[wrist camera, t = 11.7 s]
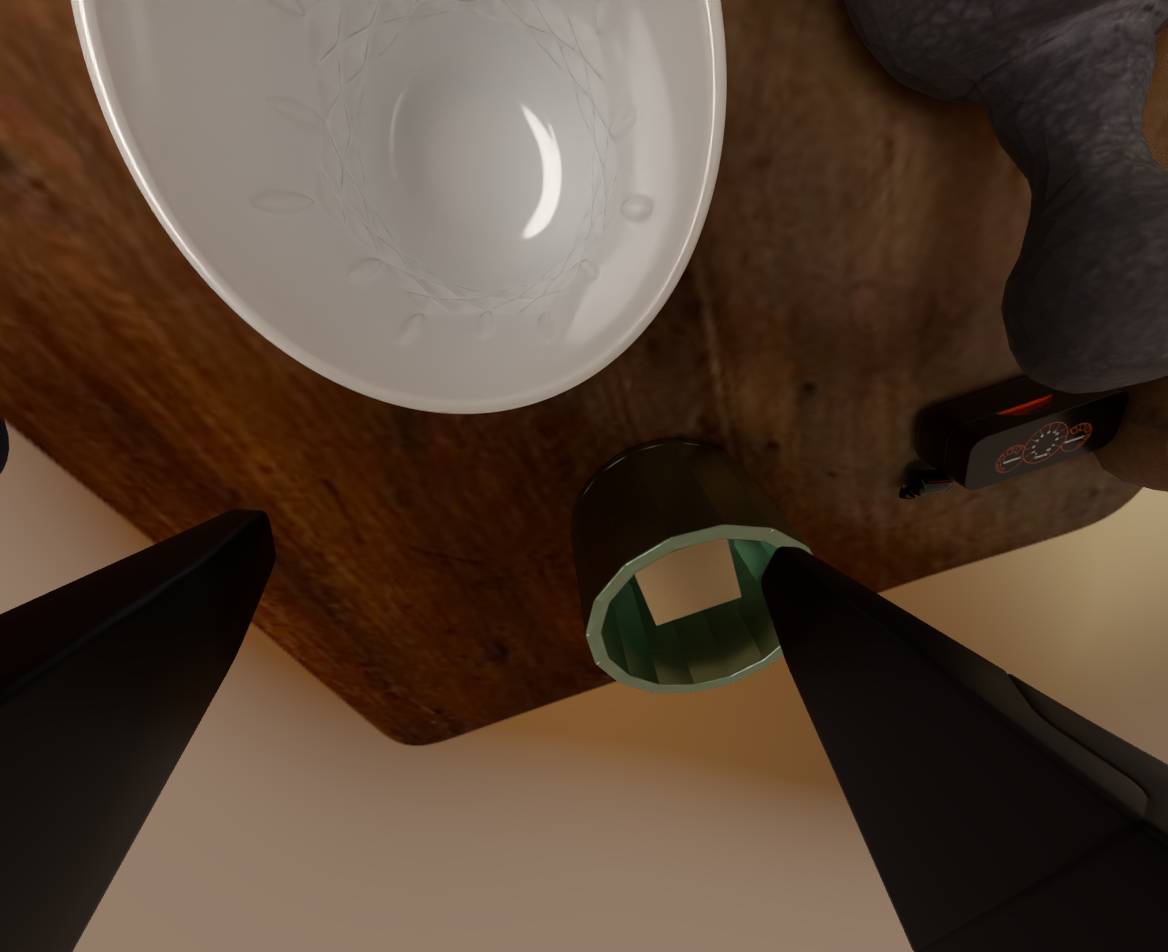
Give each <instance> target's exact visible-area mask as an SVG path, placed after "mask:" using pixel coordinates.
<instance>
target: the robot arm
mask: <svg viewBox="0 0 1168 952" xmlns="http://www.w3.org/2000/svg"><path fill="white" fill-rule="evenodd" d="M275 557H276V552H275V546H274V541H273V536H272V531H271V525H270V520H269V517H268V515H267V514H266V513H265V512H263V511H261V510H247V509H233V510H230V511H228V512H226V513H224V514H221V515H219V516H217V517H215V518H212V519H210V520H208V521H206V522H204V523H201V524H199V525H197V526H195V527H193V528H190V529H188V530H186V531H184V532H182V533H179V534H177V535H175V536H173V537H170V538H168V539H166V540H164V541H162V542H159V543H157V544H155V545H153V546H151V547H149V548H146V549H144V550H142V551H140V552H137V553H135V554H133V555H131V556H129V557H126V558H124V559H122V560H120V561H117V562H115V563H113V564H111V565H109V566H106V567H104V568H102V569H100V570H97V571H95V572H93V573H91V574H89V575H86V576H84V577H82V578H80V579H78V580H76V581H73V582H71V583H69V584H67V585H65V586H62V587H60V588H58V589H56V590H53V591H51V592H49V593H47V594H44V595H42V596H40V597H38V598H36V599H33V600H31V601H29V602H27V603H25V604H22V605H21V606H18V607H16V608H13V609H11V610H9V611H7V612H5V613H2V614H0V952H73V950H74V948H75V946H76V944H77V943H78V941H79V939H80V937H81V935H82V934H83V932H84V930H85V928H86V926H87V925H88V923H89V921H90V919H91V917H92V916H93V914H94V912H95V910H96V908H97V906H98V905H99V903H100V901H101V899H102V898H103V896H104V894H105V892H106V890H107V889H108V886H109V885H110V883H111V881H112V880H113V878H114V876H115V874H116V872H117V871H118V869H119V867H120V865H121V863H122V861H123V860H124V858H125V856H126V854H127V852H128V850H129V849H130V847H131V845H132V843H133V842H134V840H135V838H136V836H137V834H138V833H139V831H140V829H141V827H142V825H143V823H144V822H145V820H146V818H147V816H148V814H149V813H150V811H151V809H152V807H153V806H154V804H155V802H156V800H157V798H158V797H159V795H160V793H161V791H162V789H163V788H164V786H165V784H166V782H167V780H168V779H169V777H170V775H171V773H172V771H173V770H174V768H175V766H176V764H177V762H178V761H179V759H180V757H181V755H182V753H183V751H184V750H185V748H186V746H187V744H188V743H189V741H190V739H191V737H192V735H193V734H194V732H195V730H196V728H197V726H198V724H199V723H200V721H201V719H202V717H203V716H204V714H205V712H206V710H207V708H208V706H209V705H210V703H211V701H212V699H213V697H214V696H215V694H216V692H217V690H218V689H219V687H220V685H221V683H222V681H223V679H224V678H225V676H226V674H227V672H228V670H229V669H230V667H231V665H232V663H233V661H234V659H235V657H236V655H237V653H238V651H239V648H240V646H241V644H242V642H243V639H244V637H245V634H246V632H247V630H248V627H249V625H250V622H251V620H252V618H253V615H254V613H255V610H256V608H257V605H258V603H259V601H260V598H261V596H262V593H263V591H264V588H265V586H266V584H267V581H268V579H269V576H270V574H271V572H272V569H273V566H274V563H275ZM761 589H762V592H763V595H764V598H765V601H766V604H767V607H768V610H769V613H770V616H771V619H772V622H773V625H774V628H775V631H776V634H777V637H778V641H779V644H780V647H781V649H782V652H783V655H784V657H785V660H786V663H787V665H788V668H789V670H790V673H791V675H792V677H793V679H794V682H795V683H796V686H797V688H798V690H799V693H800V695H801V697H802V700H803V702H804V704H805V707H806V709H807V711H808V713H809V716H810V718H811V720H812V722H813V725H814V727H815V729H816V732H817V734H818V736H819V738H820V741H821V743H822V745H823V747H824V750H825V752H826V754H827V756H828V759H829V761H830V763H831V765H832V768H833V770H834V772H835V775H836V777H837V779H838V782H839V783H840V786H841V788H842V791H843V793H844V795H845V797H846V800H847V802H848V804H849V807H850V809H851V811H852V813H853V816H854V818H855V820H856V822H857V824H858V827H859V829H860V832H861V834H862V836H863V838H864V841H865V843H866V845H867V847H868V849H869V852H870V854H871V857H872V859H873V861H874V863H875V866H876V868H877V870H878V872H879V875H880V877H881V879H882V881H883V884H884V886H885V888H886V891H887V893H888V895H889V897H890V900H891V902H892V904H893V906H894V909H895V911H896V913H897V916H898V918H899V920H900V922H901V924H902V927H903V929H904V932H905V934H906V936H907V938H908V941H909V943H910V945H911V947H912V949H913V951H914V952H1168V764H1166V763H1164V762H1162V761H1160V760H1159V759H1157V758H1155V757H1153V756H1151V755H1149V754H1148V753H1146V752H1144V751H1142V750H1140V749H1139V748H1137V747H1135V746H1133V745H1132V744H1130V743H1128V742H1126V741H1124V740H1123V739H1121V738H1119V737H1117V736H1116V735H1114V734H1112V733H1110V732H1108V731H1107V730H1105V729H1103V728H1101V727H1100V726H1098V725H1096V724H1094V723H1093V722H1091V721H1089V720H1087V719H1085V718H1084V717H1082V716H1080V715H1079V714H1077V713H1075V712H1074V711H1072V710H1070V709H1069V708H1067V707H1065V706H1063V705H1062V704H1060V703H1058V702H1057V701H1055V700H1053V699H1052V698H1050V697H1048V696H1046V695H1045V694H1043V693H1041V692H1040V691H1038V690H1036V689H1035V688H1033V687H1031V686H1029V685H1028V684H1026V683H1025V682H1023V681H1021V680H1020V679H1018V678H1016V677H1015V676H1013V675H1011V674H1007V673H1006V672H1005V671H1004V670H1003V669H1001V668H999V667H998V666H996V665H995V664H993V663H991V662H990V661H988V660H986V659H985V658H983V657H981V656H980V655H978V654H976V653H975V652H973V651H971V650H970V649H968V648H966V647H964V646H963V645H961V644H960V643H958V642H956V641H955V640H953V639H951V638H950V637H948V636H946V635H945V634H943V633H941V632H940V631H938V630H936V629H935V628H933V627H931V626H930V625H928V624H927V623H925V622H923V621H921V620H920V619H918V618H917V617H915V616H913V615H912V614H910V613H908V612H907V611H905V610H903V609H901V608H900V607H898V606H897V605H895V604H893V603H892V602H890V601H888V600H887V599H885V598H883V597H882V596H880V595H878V594H877V593H875V592H873V591H872V590H870V589H868V588H867V587H865V586H863V585H862V584H860V583H858V582H857V581H855V580H853V579H852V578H850V577H848V576H847V575H845V574H843V573H842V572H840V571H838V570H837V569H835V568H833V567H832V566H830V565H828V564H827V563H825V562H823V561H822V560H820V559H818V558H817V557H815V556H814V555H812V554H810V553H809V552H807V551H805V550H804V549H802V548H799V547H788V546H782V547H779V548H777V549H776V550H775V552H774V554H773V555H772V557H771V559H770V561H769V563H768V565H767V567H766V569H765V571H764V573H763V575H762V577H761Z"/></svg>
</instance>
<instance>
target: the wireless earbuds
mask: <svg viewBox="0 0 1168 952" xmlns="http://www.w3.org/2000/svg"><path fill="white" fill-rule="evenodd" d="M1128 401H1129V394H1128V393H1127V392H1125V391H1122V390H1118V389H1111V390H1106V391H1102V392H1089V393H1076V394H1072V393H1067V392H1063V391H1059V390H1054V389H1052V388H1050V387H1047V386H1045V385H1043V384H1041V383H1038V382H1036V381H1034V380H1032V379H1030V378H1029V377H1028V376H1026V377H1023V378H1020V379H1017V380H1014V381H1012V382H1009V383H1006V384H1003V385H1000V386H997V387H994V388H991V389H988V390H986V391H983V392H980V393H977V394H974V395H971V396H968V397H965V398H962V399H959V400H957V401H954V402H951V403H948V404H945V405H942V406H939V407H936V408H933V409H931V410H928V411H927V412H925V413H923V414H922V415H921V417H920V419H919V422H918V431H917V442H916V453H917V455H918V457H919V458H920V459H922V460H923V461H925V462H926V463H928V464H929V465H931V466H932V467H934V468H935V469H910V470H909V471H908V472H907V474H906V476H905V484H906V486H905V485H901V488H900V491H899V497H900V498H903V499H915V496H914V495H913V494H915V495H918V496H921V495H928V494H938V493H942V492H944V491H946V490H948V489H949V488H951V487H952V485H953V483H954V482H953V480H954V481H956V482H957V483H959V484H960V485H962V486H963V487H965V488H966V489H968V490H977V489H980V488H983V487H986V486H989V485H992V484H995V483H998V482H1001V481H1004V480H1007V479H1010V478H1014V477H1017V476H1020V475H1023V474H1026V473H1029V472H1032V471H1035V470H1038V469H1041V468H1044V467H1047V466H1050V465H1053V464H1056V463H1059V462H1062V461H1065V460H1068V459H1071V458H1074V457H1077V456H1080V455H1083V454H1086V453H1089V452H1092V451H1095V450H1098V449H1100V448H1102V447H1104V446H1106V445H1107V444H1108V443H1109V442H1110V441H1112V439H1113V438H1114V437H1115V435H1116V433H1117V431H1118V428H1119V426H1120V423H1121V420H1122V418H1123V415H1124V412H1125V409H1126V407H1127V404H1128Z"/></svg>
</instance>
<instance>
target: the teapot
mask: <svg viewBox="0 0 1168 952" xmlns="http://www.w3.org/2000/svg"><path fill="white" fill-rule="evenodd" d="M844 3H845V6H846V9H847V12H848V15H849V18H850V21H851V22H852V24H853V26H854V27H855V29H856V31H857V33H858V34H859V36H860V38H861V40H862V41H863V43H864V45H865V46H866V47H867V49H868V50H869V51H870V52H871V53H872V55H873V56H874V57H875V58H876V59H877V61H878V62H879V63H880V64H881V65H882V67H883V68H884V69H885V70H886V71H887V72H888V73H889V74H890V75H891V76H892V77H893V78H894V79H895V80H896V81H898V82H900V83H902V84H903V85H905V86H907V87H909V88H911V89H913V90H916V91H918V92H921V93H923V94H926V95H929V96H931V97H934V98H936V99H939V100H942V101H946V102H951V103H955V104H966V105H977V106H981V107H983V108H984V110H985V112H986V114H987V116H988V118H989V121H990V123H991V125H992V127H993V130H994V132H995V134H996V136H997V139H998V141H999V143H1000V145H1001V146H1002V148H1003V149H1004V150H1005V151H1006V153H1007V154H1008V155H1009V156H1010V158H1011V159H1012V160H1013V162H1014V163H1015V164H1016V165H1017V167H1018V168H1019V169H1020V170H1021V172H1022V173H1023V174H1024V176H1025V177H1026V178H1027V179H1028V182H1029V185H1030V189H1031V193H1032V199H1031V211H1030V217H1029V221H1028V225H1027V229H1026V233H1025V237H1024V241H1023V245H1022V249H1021V253H1020V256H1019V258H1018V260H1017V262H1016V264H1015V266H1014V268H1013V270H1012V272H1011V274H1010V275H1009V277H1008V279H1007V281H1006V285H1005V290H1004V296H1003V301H1002V306H1001V311H1002V315H1003V320H1004V324H1005V329H1006V333H1007V338H1008V342H1009V347H1010V350H1011V352H1012V354H1013V355H1014V357H1015V359H1016V361H1017V363H1018V365H1019V366H1020V368H1021V369H1022V370H1023V371H1024V372H1025V374H1026V375H1027V376H1028V377H1029V378H1030V379H1032V380H1034V381H1036V382H1038V383H1041V384H1043V385H1045V386H1047V387H1050V388H1052V389H1054V390H1059V391H1063V392H1067V393H1072V394H1076V393H1089V392H1102V391H1106V390H1111V389H1116V388H1120V387H1125V386H1129V385H1134V384H1138V383H1143V382H1147V381H1151V380H1154V379H1157V378H1161V377H1164V376H1167V375H1168V172H1167V171H1166V170H1164V169H1163V168H1162V167H1161V166H1160V165H1159V164H1158V163H1157V162H1156V161H1155V160H1154V159H1153V157H1152V154H1151V152H1150V149H1149V146H1148V144H1147V141H1146V139H1145V136H1144V133H1143V129H1142V116H1143V111H1144V107H1145V102H1146V98H1147V94H1148V90H1149V86H1150V82H1151V78H1152V74H1153V70H1154V66H1155V62H1156V45H1155V34H1157V33H1159V32H1160V31H1162V30H1163V29H1165V28H1166V27H1168V0H844Z"/></svg>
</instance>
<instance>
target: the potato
mask: <svg viewBox="0 0 1168 952" xmlns="http://www.w3.org/2000/svg"><path fill="white" fill-rule="evenodd" d="M1116 389H1118V390H1122V391H1125V392H1127V393H1128V394H1129V401H1128V404H1127V407H1126V409H1125V412H1124V415H1123V418H1122V420H1121V423H1120V426H1119V428H1118V431H1117V433H1116V435H1115V437H1114V438H1113V439H1112V441H1110V442H1109V443H1108V444H1107V445H1106V446H1104V447H1102V448H1100V449H1098V450H1095V451H1094V454H1095V455H1096V457H1097V459H1098V461H1099V462H1100V464H1101V466H1102V468H1103V469H1104V470H1106V471H1108V472H1110V473H1111V474H1113V475H1115V476H1116V477H1118V478H1120V479H1122V480H1123V481H1125V482H1129V483H1132V484H1136V485H1139V486H1143V487H1146V488H1150V489H1153V490H1160V491H1167V492H1168V375H1167V376H1164V377H1161V378H1157V379H1154V380H1151V381H1147V382H1143V383H1138V384H1134V385H1129V386H1125V387H1120V388H1116Z"/></svg>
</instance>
